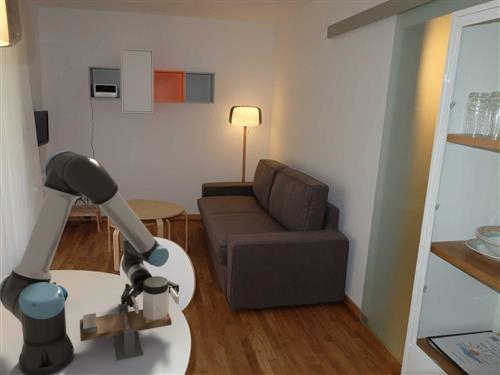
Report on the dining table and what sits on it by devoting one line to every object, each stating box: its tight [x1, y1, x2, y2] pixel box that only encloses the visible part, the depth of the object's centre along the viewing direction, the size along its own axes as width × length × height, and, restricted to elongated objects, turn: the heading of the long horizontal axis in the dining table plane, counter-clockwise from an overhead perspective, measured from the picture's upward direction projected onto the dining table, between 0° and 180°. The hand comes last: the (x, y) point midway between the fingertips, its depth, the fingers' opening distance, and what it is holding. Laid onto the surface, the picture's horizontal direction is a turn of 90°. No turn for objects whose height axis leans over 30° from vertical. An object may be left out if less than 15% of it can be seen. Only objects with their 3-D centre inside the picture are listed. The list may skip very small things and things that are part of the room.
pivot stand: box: [112, 303, 144, 361], centre depth 135 cm, size 8×18×9 cm, turn 23°
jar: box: [142, 275, 170, 321], centre depth 137 cm, size 9×8×12 cm
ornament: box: [52, 281, 69, 302], centre depth 153 cm, size 9×9×10 cm
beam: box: [79, 308, 172, 342], centre depth 134 cm, size 28×13×4 cm, turn 113°
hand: (158, 304), depth 134 cm, fingers open, 13 cm apart
